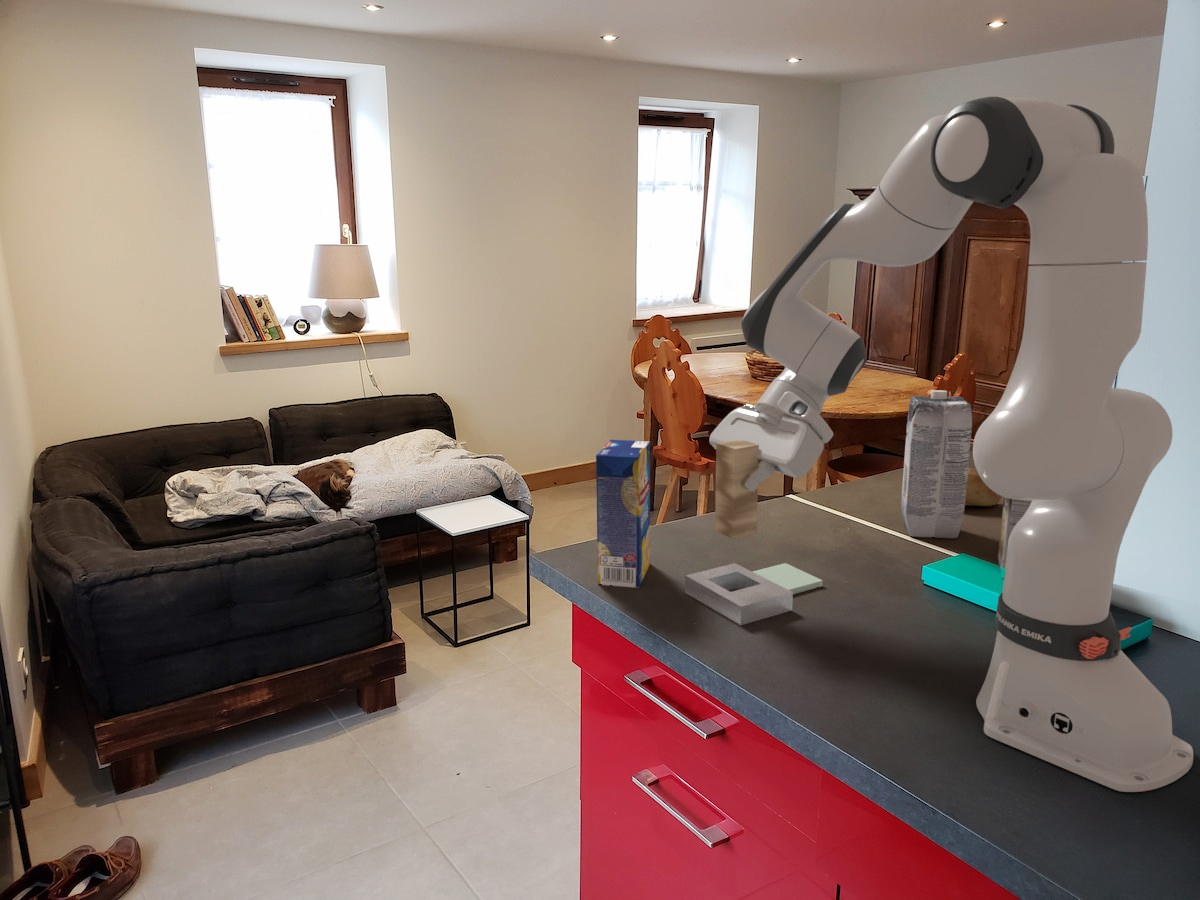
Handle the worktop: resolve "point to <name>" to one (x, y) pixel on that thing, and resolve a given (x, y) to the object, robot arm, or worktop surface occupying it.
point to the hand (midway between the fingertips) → (733, 483)
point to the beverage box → (623, 512)
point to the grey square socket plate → (738, 593)
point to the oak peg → (735, 489)
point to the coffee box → (1010, 523)
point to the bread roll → (979, 491)
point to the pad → (790, 578)
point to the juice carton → (936, 465)
